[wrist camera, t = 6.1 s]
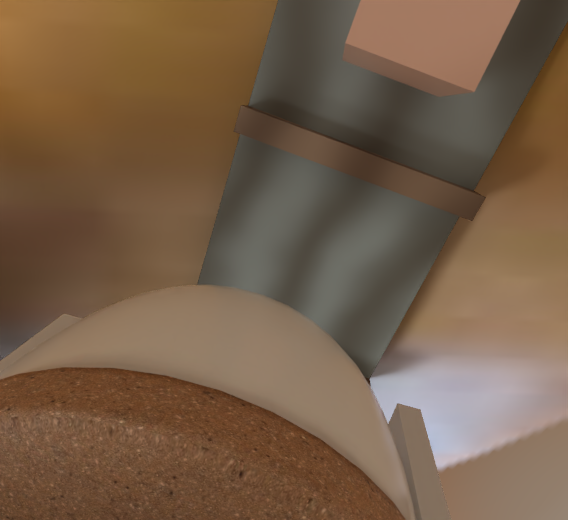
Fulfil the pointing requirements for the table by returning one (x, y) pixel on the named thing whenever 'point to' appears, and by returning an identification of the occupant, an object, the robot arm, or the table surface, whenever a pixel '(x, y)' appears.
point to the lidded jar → (195, 418)
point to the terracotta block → (428, 41)
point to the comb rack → (359, 171)
